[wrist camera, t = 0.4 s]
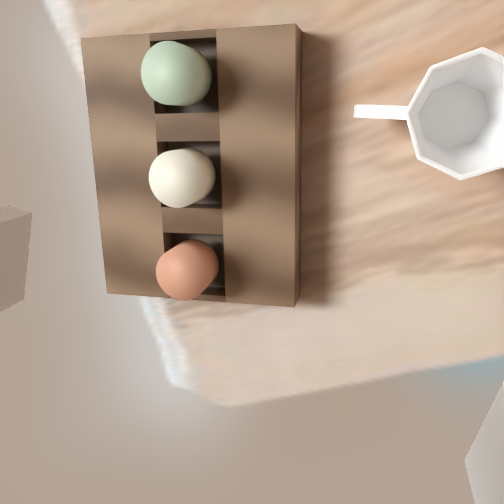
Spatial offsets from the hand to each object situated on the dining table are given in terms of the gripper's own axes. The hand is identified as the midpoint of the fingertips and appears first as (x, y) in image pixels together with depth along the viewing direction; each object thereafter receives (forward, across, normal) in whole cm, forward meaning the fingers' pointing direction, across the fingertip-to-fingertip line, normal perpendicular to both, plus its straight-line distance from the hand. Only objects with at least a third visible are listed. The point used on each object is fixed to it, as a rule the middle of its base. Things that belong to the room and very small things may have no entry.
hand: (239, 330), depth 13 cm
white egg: (+23, -10, -2) cm, 25 cm away
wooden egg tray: (+26, -10, -2) cm, 28 cm away
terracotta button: (+23, -8, -8) cm, 26 cm away
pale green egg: (+23, -12, +5) cm, 27 cm away
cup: (+26, +5, +7) cm, 28 cm away
